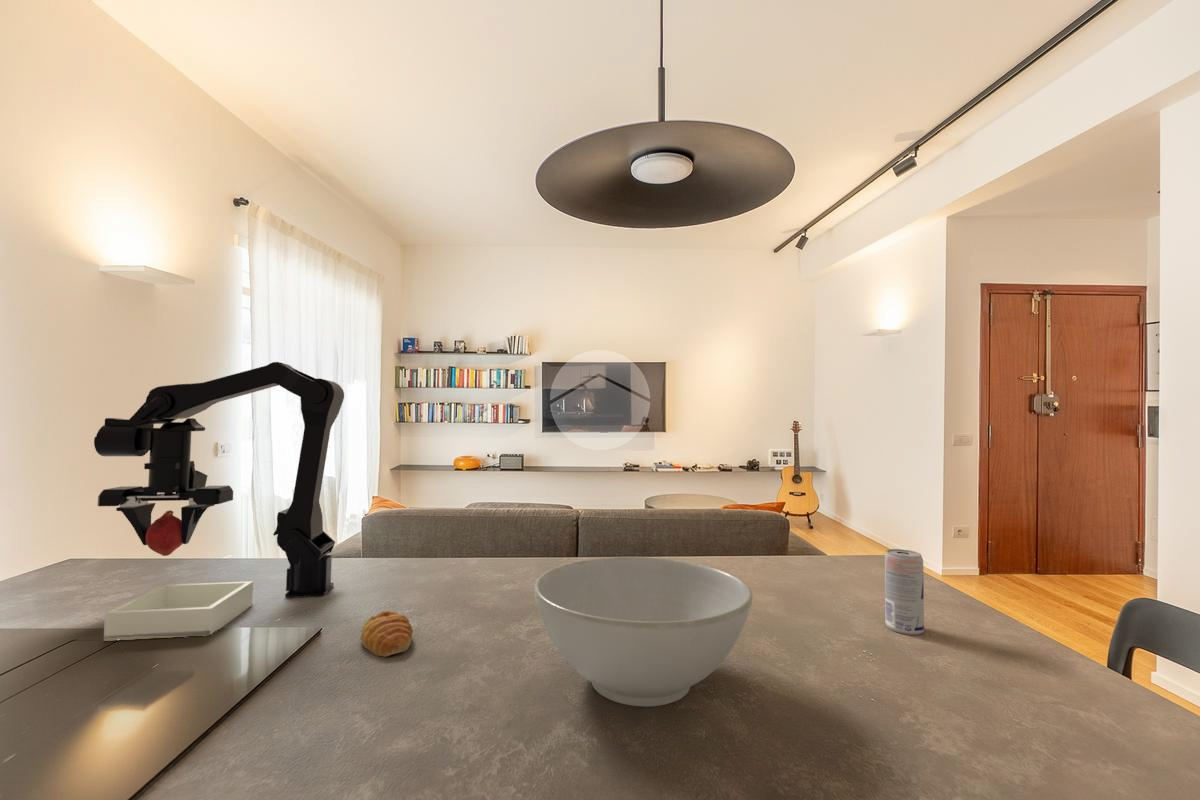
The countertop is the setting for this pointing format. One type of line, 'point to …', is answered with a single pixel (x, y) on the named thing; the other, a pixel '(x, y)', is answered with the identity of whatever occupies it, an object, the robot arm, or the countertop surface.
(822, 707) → the countertop surface
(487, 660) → the countertop surface
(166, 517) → the onion
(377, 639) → the pastry
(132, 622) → the bin
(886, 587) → the energy drink
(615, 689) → the decorative bowl
